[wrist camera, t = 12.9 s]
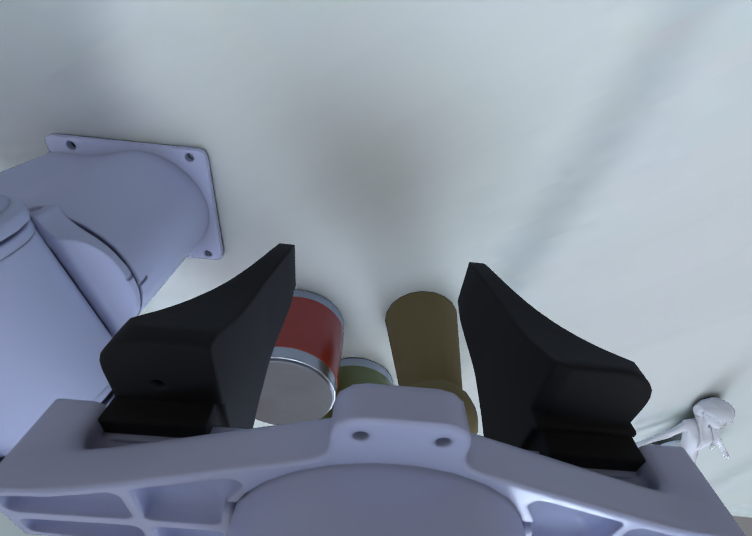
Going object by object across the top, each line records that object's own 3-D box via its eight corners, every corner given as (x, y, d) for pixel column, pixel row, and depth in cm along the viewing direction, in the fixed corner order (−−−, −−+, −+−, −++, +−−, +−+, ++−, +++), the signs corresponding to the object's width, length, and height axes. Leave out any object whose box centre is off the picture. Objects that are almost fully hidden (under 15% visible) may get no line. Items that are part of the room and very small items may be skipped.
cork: (431, 278, 28) (456, 403, 19) (470, 324, 30) (509, 452, 21) (370, 314, 30) (367, 442, 21) (412, 354, 32) (424, 482, 23)
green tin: (301, 385, 35) (285, 459, 29) (348, 345, 32) (341, 418, 26) (360, 415, 38) (356, 488, 32) (409, 381, 35) (415, 455, 29)
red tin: (277, 359, 33) (254, 433, 27) (240, 298, 29) (204, 369, 23) (355, 346, 32) (349, 419, 26) (328, 280, 28) (314, 350, 22)
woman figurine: (601, 520, 41) (683, 418, 32) (582, 480, 45) (650, 380, 36) (698, 524, 42) (806, 426, 32) (670, 485, 45) (760, 387, 36)
